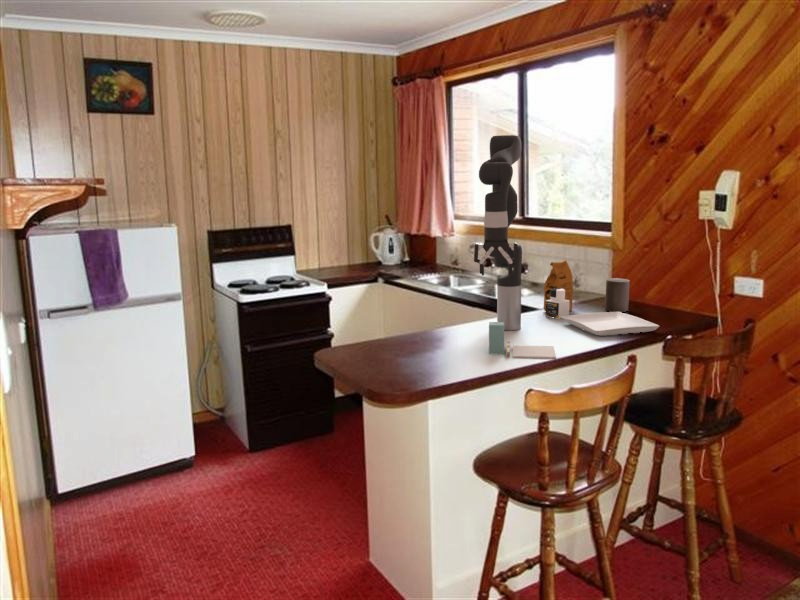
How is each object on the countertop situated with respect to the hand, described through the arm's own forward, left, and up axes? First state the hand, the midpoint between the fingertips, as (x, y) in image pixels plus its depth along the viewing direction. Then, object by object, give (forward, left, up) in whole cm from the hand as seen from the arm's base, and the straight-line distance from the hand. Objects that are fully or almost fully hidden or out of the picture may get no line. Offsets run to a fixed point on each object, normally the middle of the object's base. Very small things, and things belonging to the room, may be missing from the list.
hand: (496, 275), depth 219 cm
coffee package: (-76, +25, -28) cm, 85 cm away
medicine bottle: (-64, +24, -28) cm, 74 cm away
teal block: (-6, 0, -28) cm, 28 cm away
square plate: (-44, +42, -28) cm, 67 cm away
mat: (-6, +13, -28) cm, 31 cm away
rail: (-6, +4, -28) cm, 29 cm away
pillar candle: (-77, +50, -28) cm, 96 cm away
